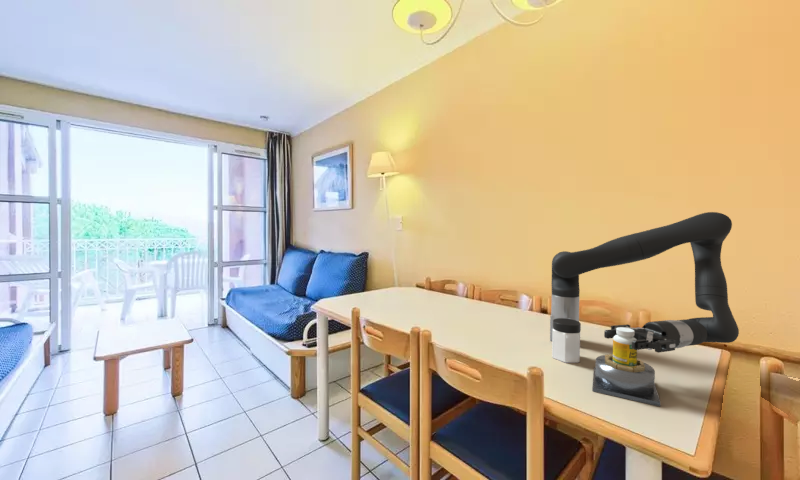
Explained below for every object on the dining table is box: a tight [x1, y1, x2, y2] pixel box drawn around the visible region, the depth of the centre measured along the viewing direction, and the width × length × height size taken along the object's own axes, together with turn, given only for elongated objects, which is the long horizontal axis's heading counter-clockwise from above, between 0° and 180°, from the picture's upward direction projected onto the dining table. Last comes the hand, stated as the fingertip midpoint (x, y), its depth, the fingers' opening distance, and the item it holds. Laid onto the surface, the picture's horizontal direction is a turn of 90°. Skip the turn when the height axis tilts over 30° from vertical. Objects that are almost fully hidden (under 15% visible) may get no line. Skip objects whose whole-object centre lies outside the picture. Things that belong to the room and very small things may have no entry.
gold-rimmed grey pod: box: [591, 353, 661, 407], centre depth 87 cm, size 14×14×7 cm
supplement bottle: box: [612, 327, 638, 366], centre depth 87 cm, size 5×5×10 cm
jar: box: [551, 318, 582, 364], centre depth 106 cm, size 9×8×12 cm
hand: (618, 339), depth 86 cm, fingers open, 8 cm apart
